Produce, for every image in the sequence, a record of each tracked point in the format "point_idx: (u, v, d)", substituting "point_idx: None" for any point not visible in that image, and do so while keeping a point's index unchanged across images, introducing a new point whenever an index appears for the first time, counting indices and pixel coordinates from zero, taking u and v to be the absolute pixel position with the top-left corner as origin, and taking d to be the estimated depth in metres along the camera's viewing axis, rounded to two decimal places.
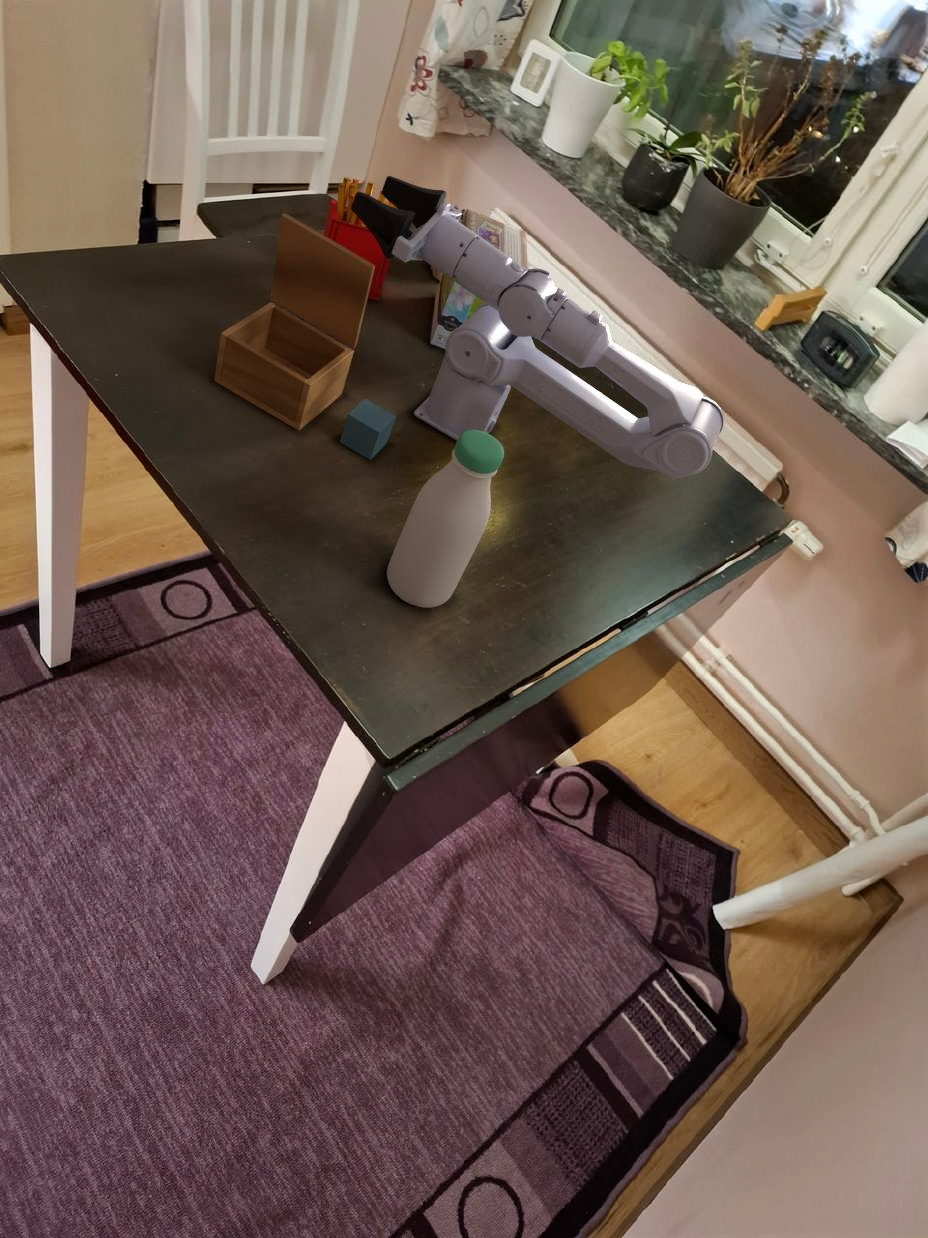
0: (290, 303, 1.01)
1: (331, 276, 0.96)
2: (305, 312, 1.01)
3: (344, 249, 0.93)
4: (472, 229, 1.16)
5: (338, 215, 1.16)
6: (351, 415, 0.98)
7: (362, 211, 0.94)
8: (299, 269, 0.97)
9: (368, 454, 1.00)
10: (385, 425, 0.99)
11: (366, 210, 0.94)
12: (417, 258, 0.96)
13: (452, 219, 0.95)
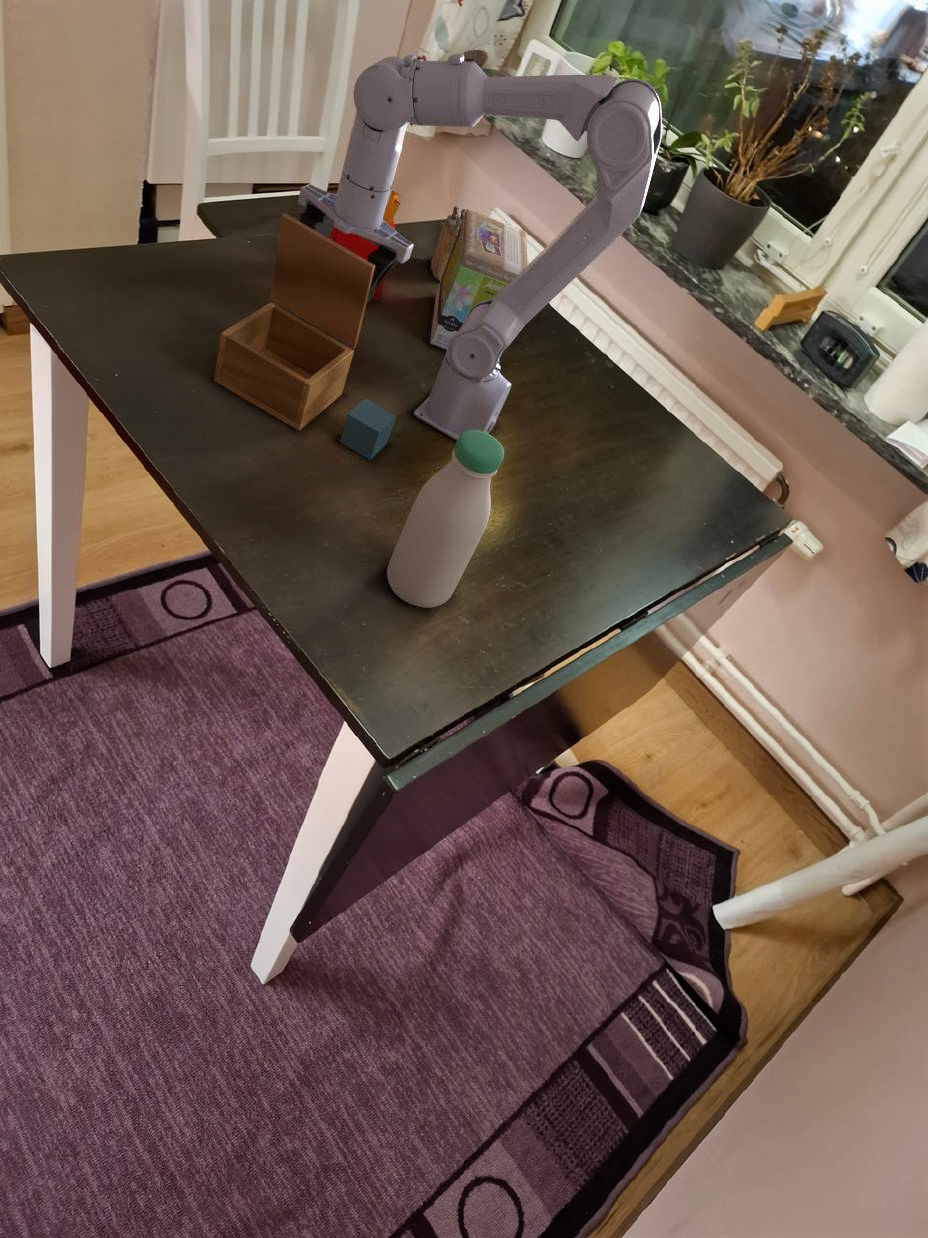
0: (290, 303, 1.01)
1: (331, 276, 0.96)
2: (305, 312, 1.01)
3: (344, 249, 0.93)
4: (472, 229, 1.16)
5: None
6: (351, 415, 0.98)
7: (373, 291, 1.02)
8: (299, 269, 0.97)
9: (368, 454, 1.00)
10: (385, 425, 0.99)
11: (372, 289, 1.01)
12: (386, 224, 0.98)
13: (346, 212, 0.94)
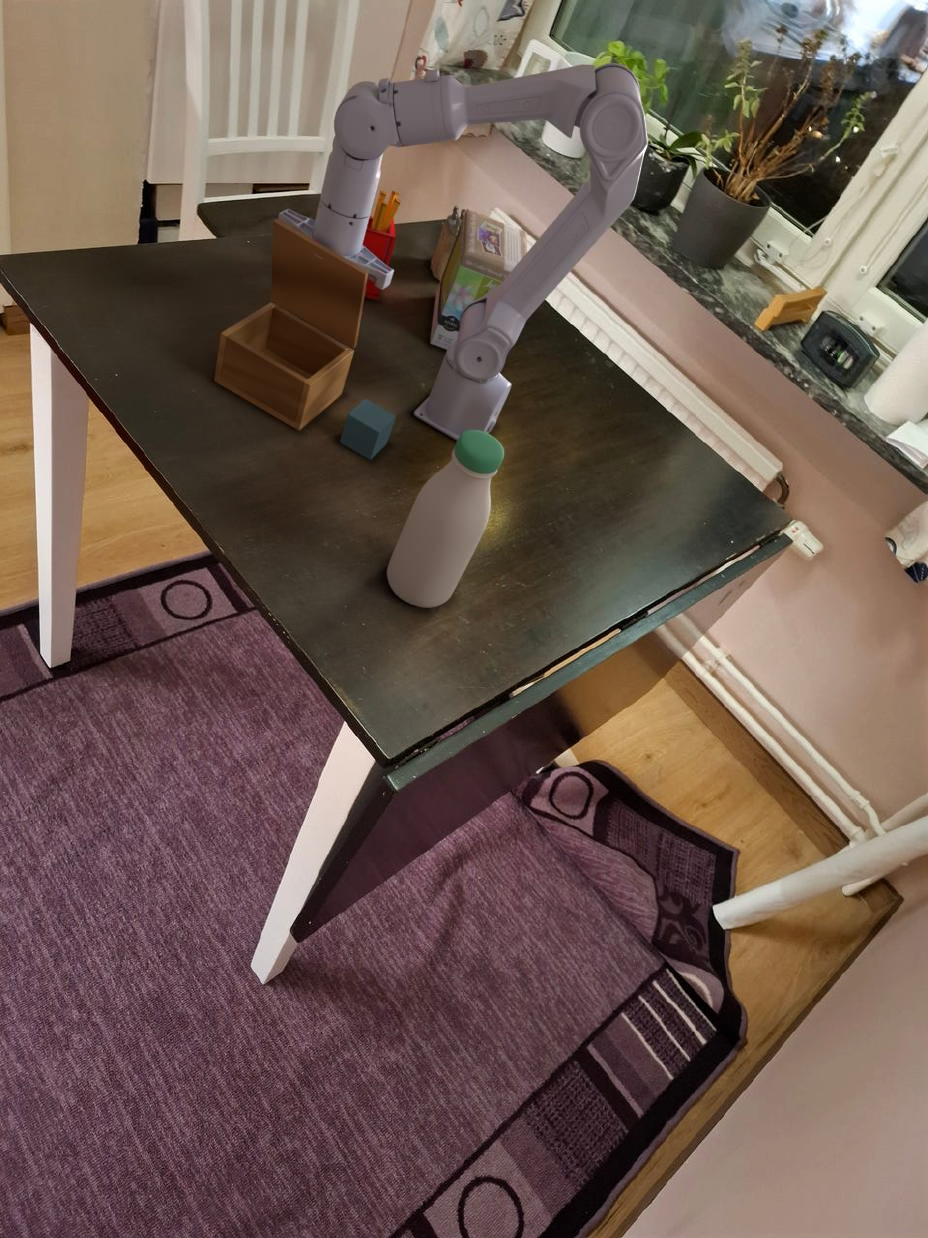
0: (289, 304, 1.01)
1: (326, 281, 0.95)
2: (304, 313, 1.01)
3: (337, 255, 0.92)
4: (472, 229, 1.16)
5: None
6: (351, 415, 0.98)
7: None
8: (295, 273, 0.96)
9: (368, 454, 1.00)
10: (385, 425, 0.99)
11: None
12: (366, 249, 0.96)
13: (324, 238, 0.92)
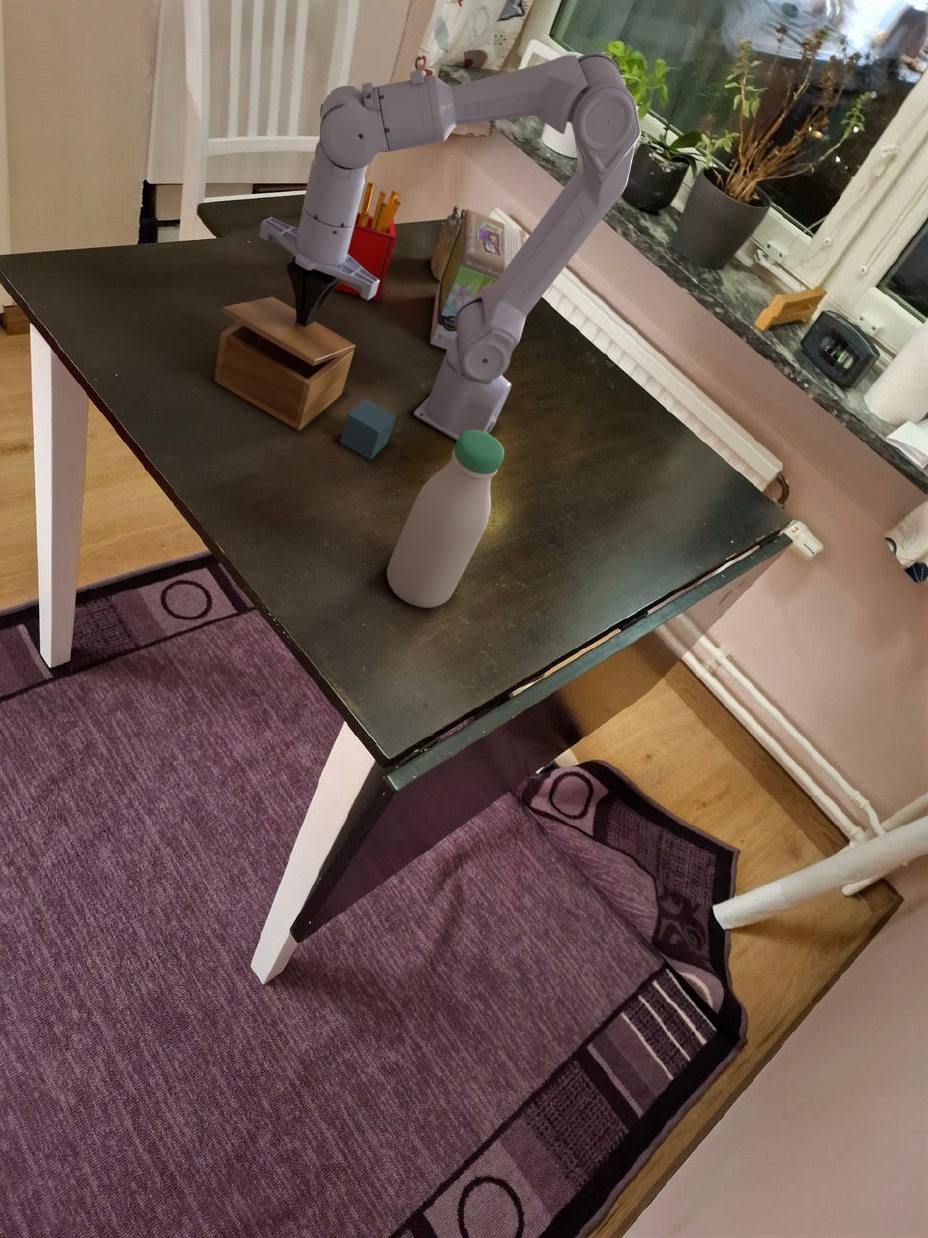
0: None
1: None
2: None
3: (284, 346, 0.92)
4: (472, 229, 1.16)
5: None
6: (351, 415, 0.98)
7: (315, 312, 0.98)
8: None
9: (368, 454, 1.00)
10: (385, 425, 0.99)
11: (314, 311, 0.98)
12: (351, 259, 0.94)
13: (308, 248, 0.90)
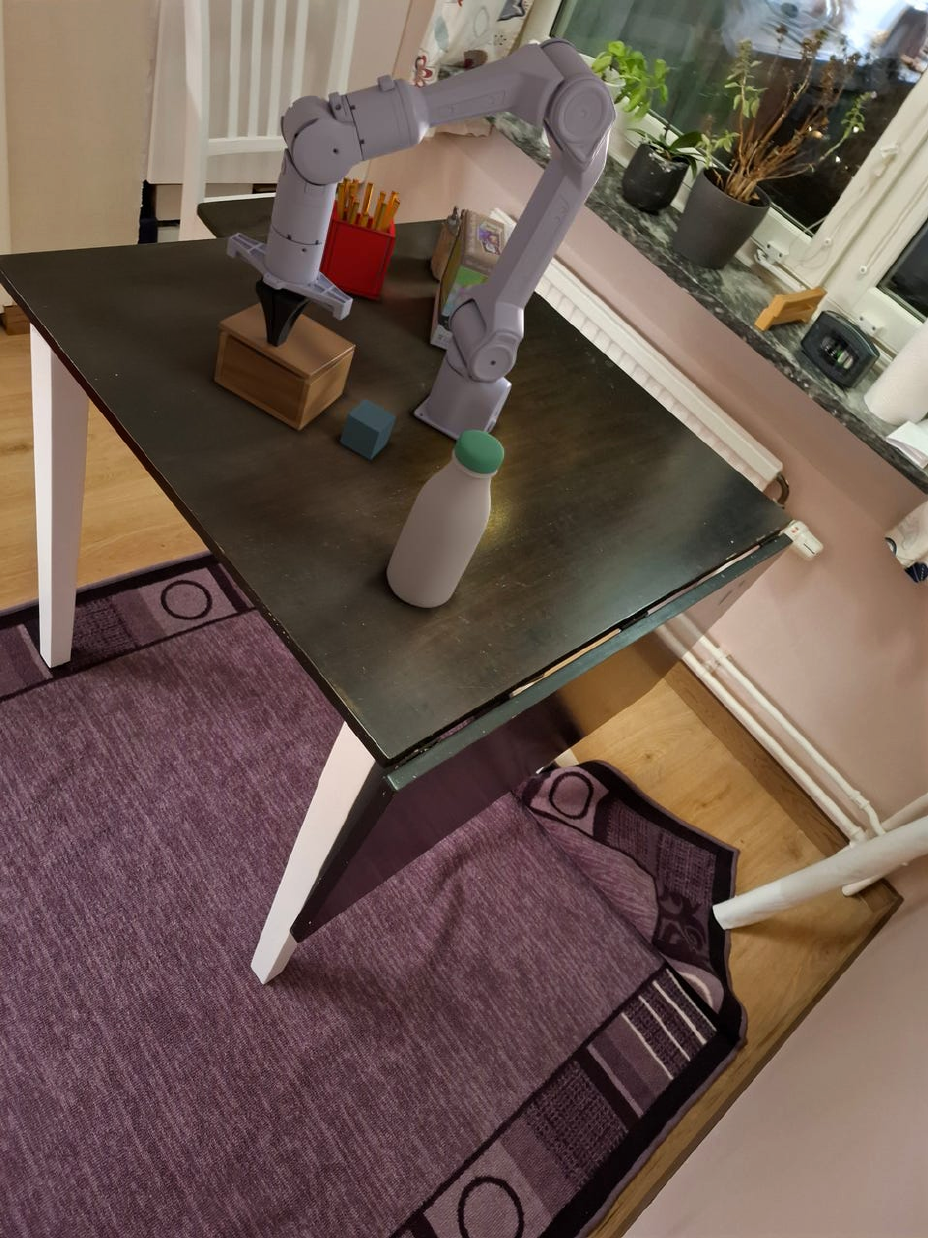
0: None
1: None
2: None
3: (279, 360, 0.93)
4: (472, 229, 1.16)
5: (338, 215, 1.16)
6: (351, 415, 0.98)
7: (286, 332, 0.94)
8: None
9: (368, 454, 1.00)
10: (385, 425, 0.99)
11: (285, 330, 0.93)
12: (323, 276, 0.89)
13: (276, 266, 0.85)
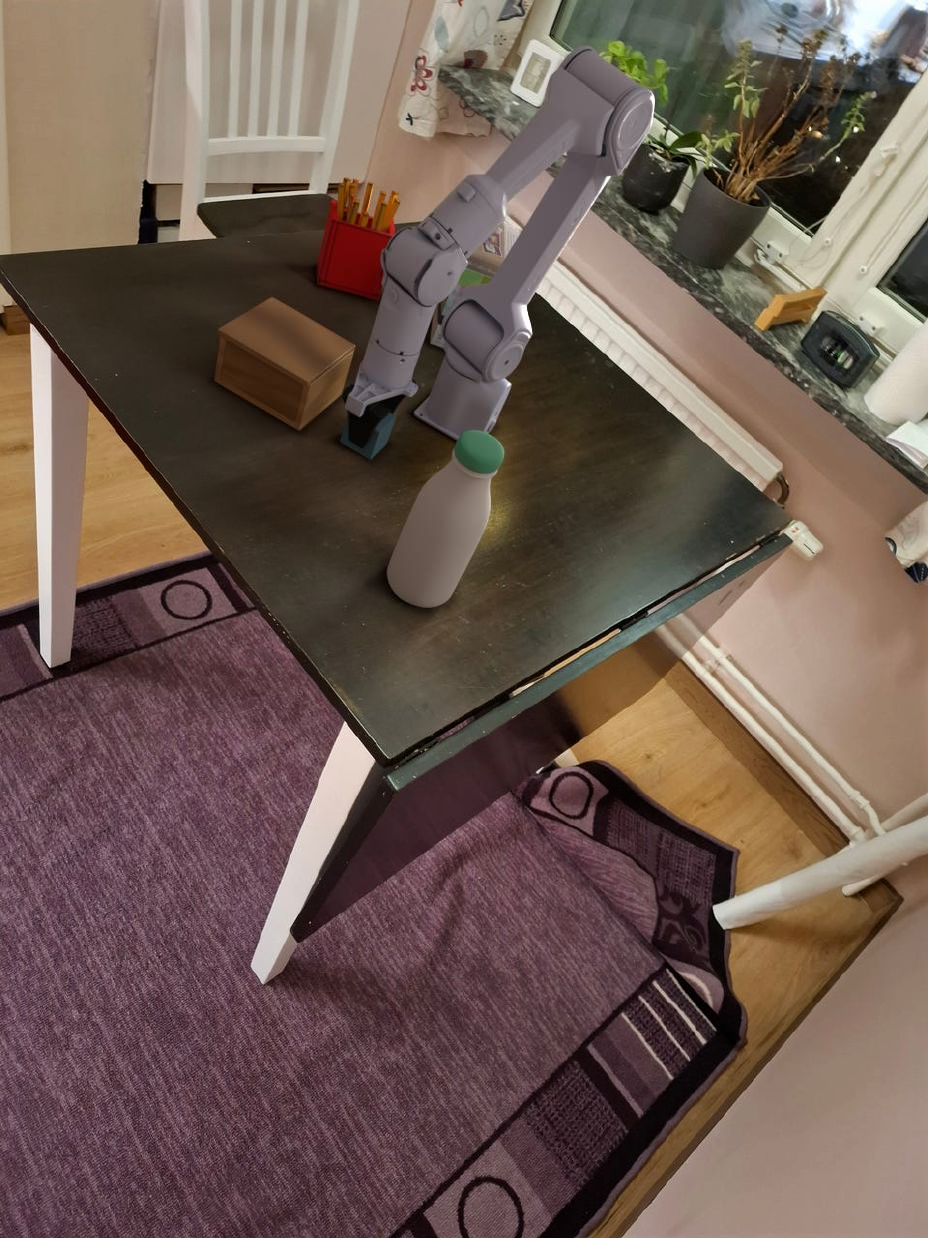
0: None
1: None
2: None
3: (278, 367, 0.94)
4: None
5: (338, 215, 1.16)
6: None
7: None
8: None
9: (368, 454, 1.00)
10: (385, 425, 0.99)
11: None
12: None
13: (408, 378, 0.93)
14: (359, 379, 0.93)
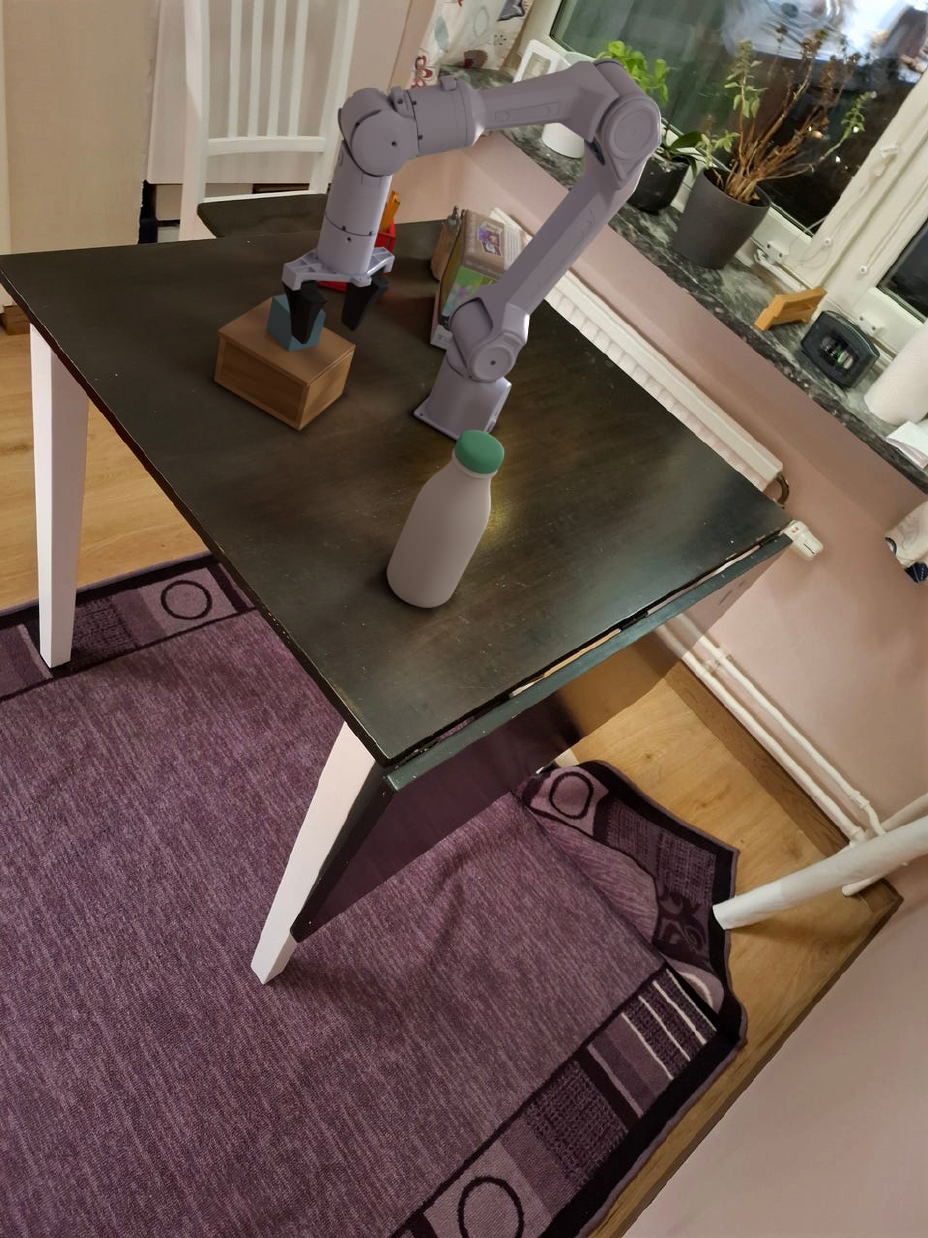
0: None
1: None
2: None
3: (278, 368, 0.94)
4: (472, 229, 1.16)
5: None
6: (275, 297, 0.94)
7: None
8: None
9: (287, 344, 0.95)
10: None
11: None
12: None
13: (360, 265, 0.87)
14: (308, 258, 0.88)
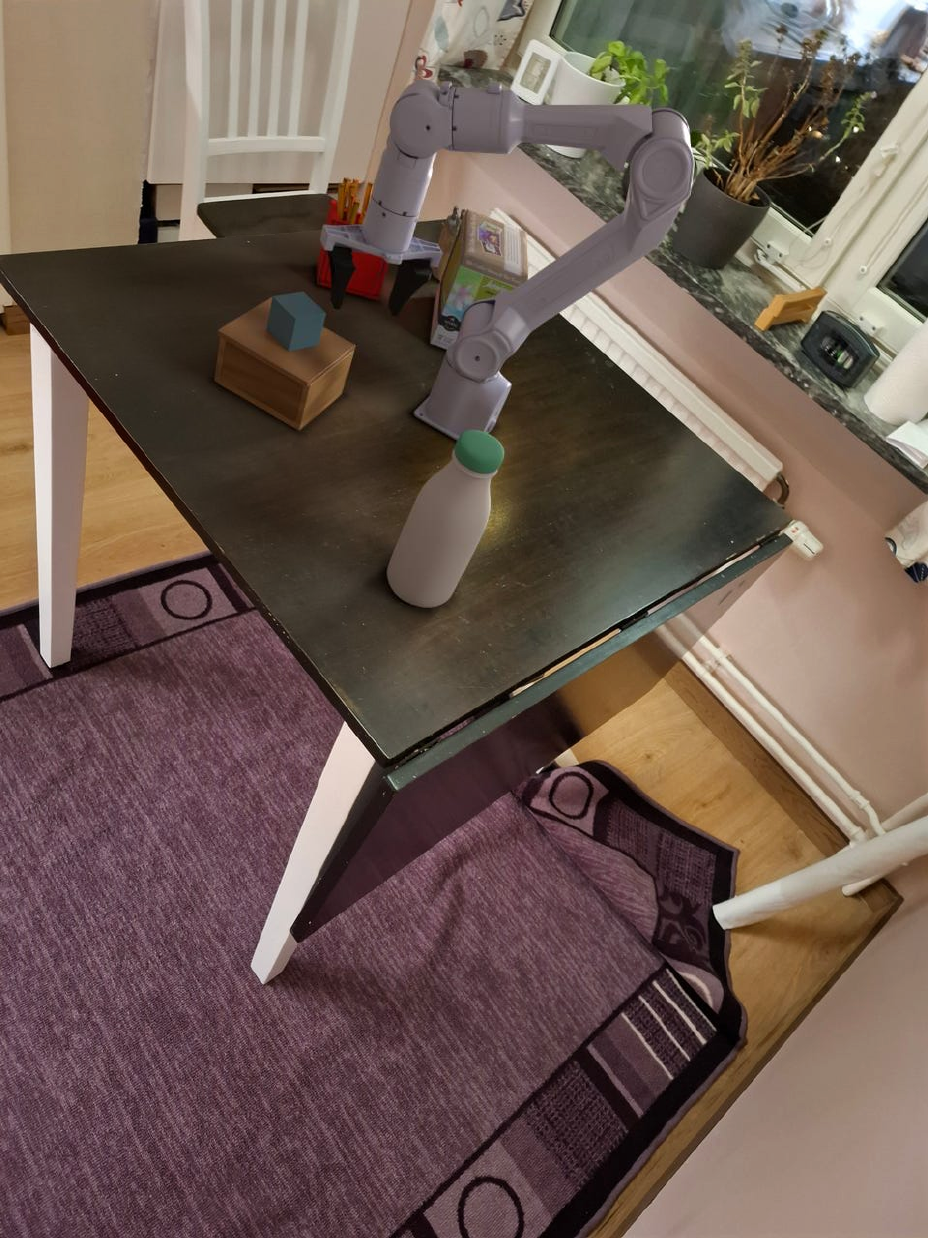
0: None
1: None
2: None
3: (278, 368, 0.94)
4: (472, 229, 1.16)
5: (338, 215, 1.16)
6: (275, 298, 0.94)
7: None
8: None
9: (287, 344, 0.95)
10: (307, 316, 0.94)
11: None
12: None
13: (392, 243, 0.93)
14: (354, 229, 0.95)
